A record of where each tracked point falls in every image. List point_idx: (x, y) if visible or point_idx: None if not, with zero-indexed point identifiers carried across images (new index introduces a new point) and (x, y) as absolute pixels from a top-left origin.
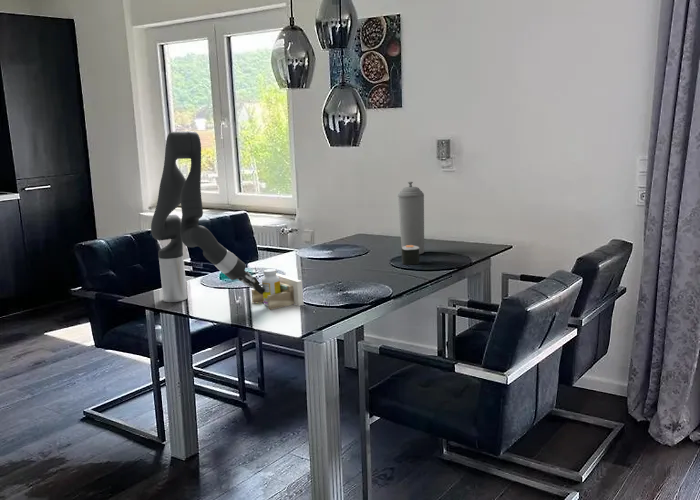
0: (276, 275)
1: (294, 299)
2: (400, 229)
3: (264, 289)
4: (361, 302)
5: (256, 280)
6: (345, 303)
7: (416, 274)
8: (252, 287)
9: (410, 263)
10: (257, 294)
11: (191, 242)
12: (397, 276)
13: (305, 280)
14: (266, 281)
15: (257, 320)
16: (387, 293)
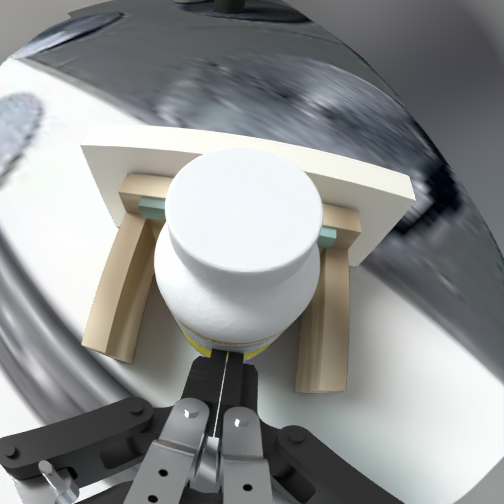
0: (149, 149)
1: None
2: None
3: (243, 356)
4: (426, 157)
5: (384, 498)
6: (417, 176)
7: (297, 30)
8: (219, 458)
9: (237, 11)
10: (123, 331)
11: None
12: (282, 35)
13: (110, 86)
14: (276, 330)
15: None
16: (386, 97)
